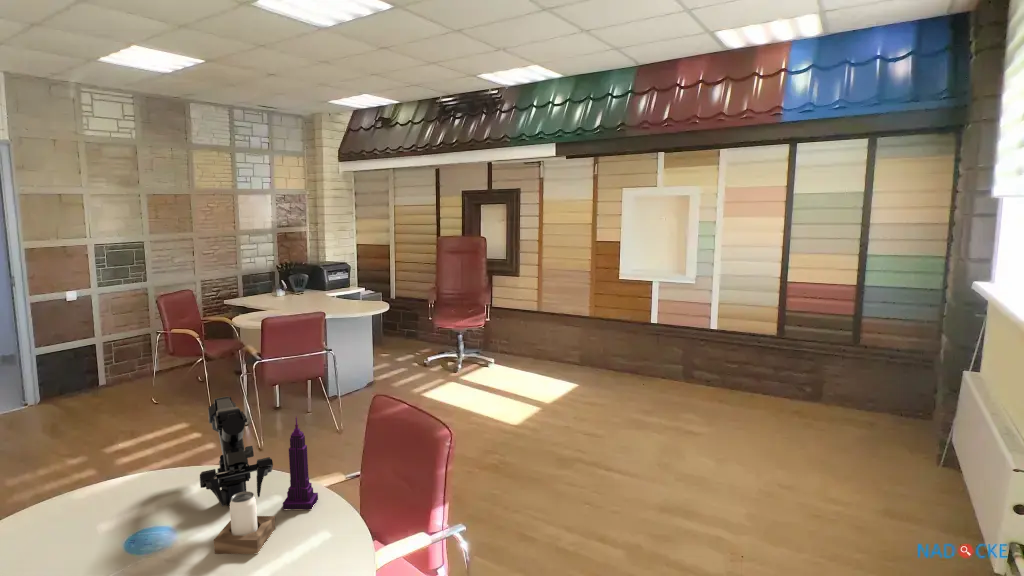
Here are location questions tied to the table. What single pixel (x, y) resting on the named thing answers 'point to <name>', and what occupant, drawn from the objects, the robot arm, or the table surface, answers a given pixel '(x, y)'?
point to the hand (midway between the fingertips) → (241, 501)
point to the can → (243, 513)
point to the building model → (299, 475)
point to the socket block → (244, 538)
